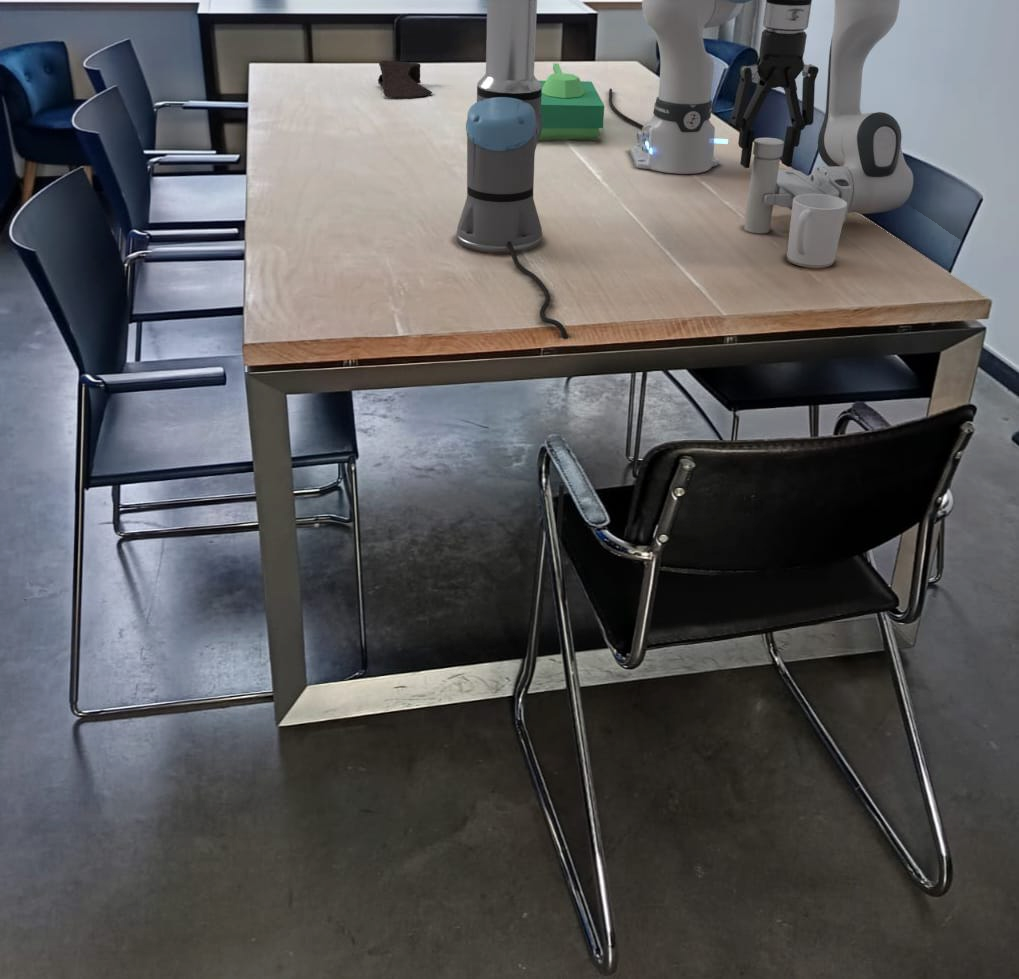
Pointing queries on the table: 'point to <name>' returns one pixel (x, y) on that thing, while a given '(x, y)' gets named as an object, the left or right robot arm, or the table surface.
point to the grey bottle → (761, 194)
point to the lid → (768, 147)
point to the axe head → (401, 79)
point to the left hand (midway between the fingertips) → (765, 165)
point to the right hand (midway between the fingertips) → (757, 194)
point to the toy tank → (570, 108)
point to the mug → (815, 229)
